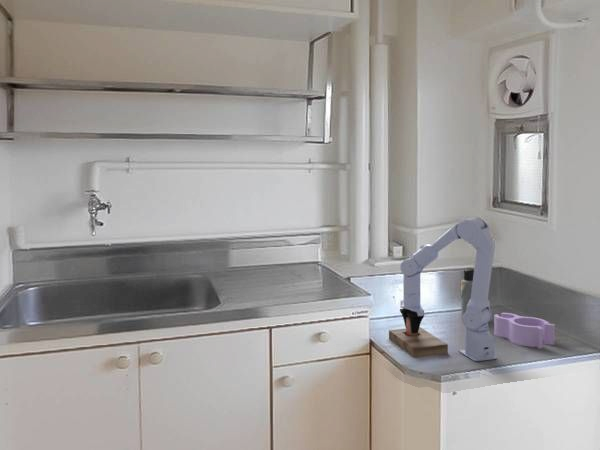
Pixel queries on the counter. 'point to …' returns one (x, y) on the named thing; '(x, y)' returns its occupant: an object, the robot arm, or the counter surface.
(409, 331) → the pin
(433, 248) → the robot arm
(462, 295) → the lotion bottle
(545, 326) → the clip
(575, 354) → the counter surface
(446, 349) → the board
